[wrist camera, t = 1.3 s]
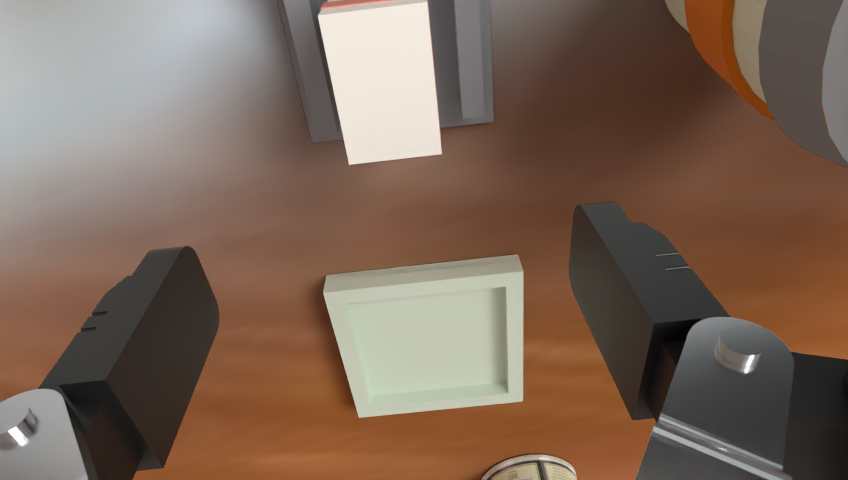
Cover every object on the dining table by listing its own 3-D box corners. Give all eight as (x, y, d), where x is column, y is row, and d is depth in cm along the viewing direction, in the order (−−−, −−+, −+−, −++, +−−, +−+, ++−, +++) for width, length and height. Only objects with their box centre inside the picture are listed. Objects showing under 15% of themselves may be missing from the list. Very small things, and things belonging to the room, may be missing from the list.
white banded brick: (420, -31, 26) (428, 0, 18) (432, 88, 29) (443, 155, 22) (340, -21, 26) (315, 14, 18) (361, 96, 29) (348, 165, 22)
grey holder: (483, -150, 24) (499, -158, 20) (492, 118, 31) (505, 149, 27) (250, -119, 24) (221, -121, 20) (313, 139, 31) (301, 173, 28)
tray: (517, 254, 37) (523, 271, 35) (518, 382, 45) (522, 401, 43) (326, 275, 37) (322, 292, 36) (360, 398, 45) (358, 417, 44)
